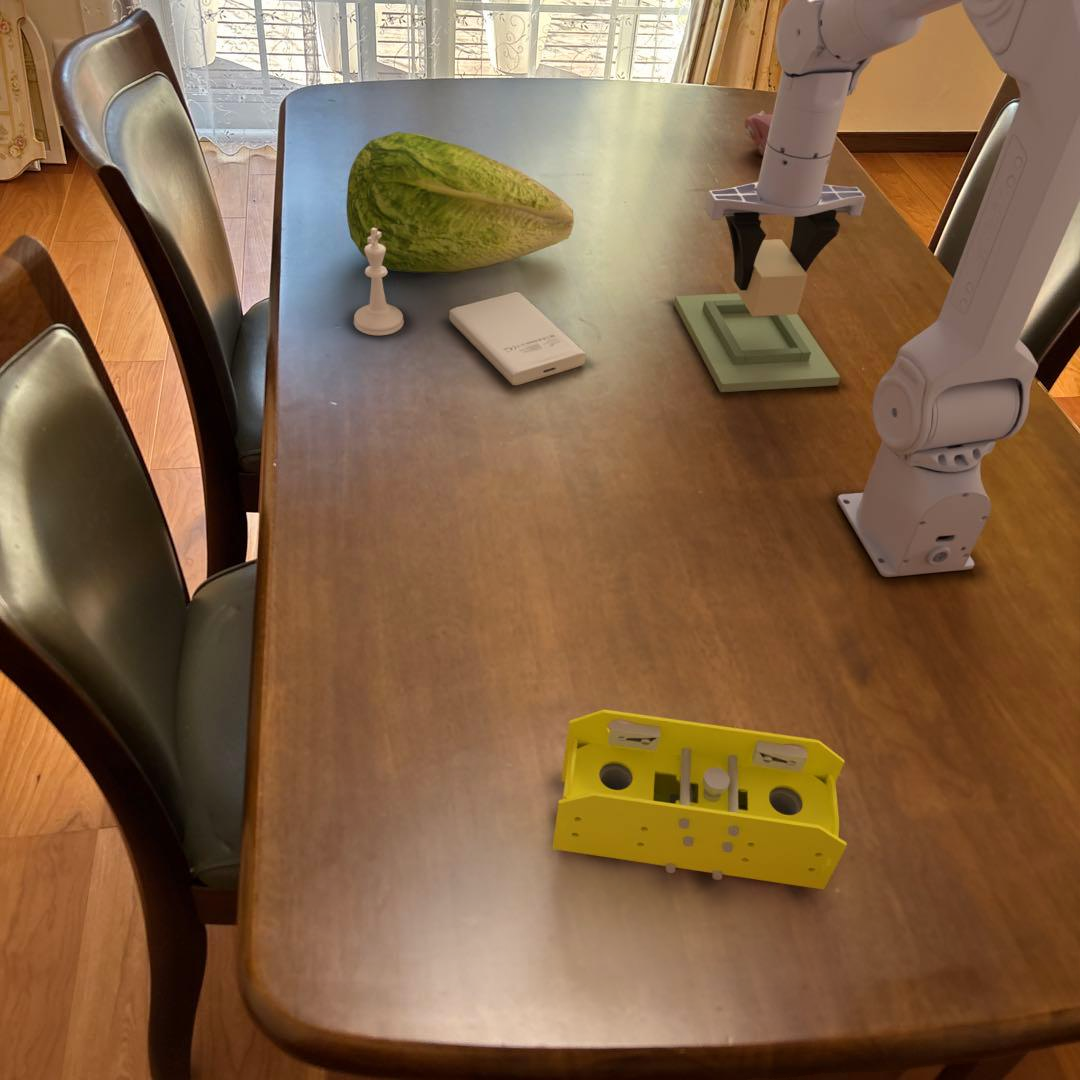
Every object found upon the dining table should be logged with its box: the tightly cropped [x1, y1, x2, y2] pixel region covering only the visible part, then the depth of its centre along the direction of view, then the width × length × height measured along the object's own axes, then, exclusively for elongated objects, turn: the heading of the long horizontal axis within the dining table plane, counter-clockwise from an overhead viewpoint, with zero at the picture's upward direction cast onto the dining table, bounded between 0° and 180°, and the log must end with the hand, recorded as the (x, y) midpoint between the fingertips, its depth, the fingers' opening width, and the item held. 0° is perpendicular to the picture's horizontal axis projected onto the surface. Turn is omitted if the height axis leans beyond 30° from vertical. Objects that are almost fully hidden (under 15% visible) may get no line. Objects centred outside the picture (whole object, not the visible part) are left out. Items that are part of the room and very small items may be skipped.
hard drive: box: [448, 291, 586, 386], centre depth 100 cm, size 2×8×12 cm
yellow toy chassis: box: [551, 708, 848, 890], centre depth 59 cm, size 16×6×8 cm, turn 83°
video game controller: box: [744, 110, 773, 157], centre depth 135 cm, size 10×5×7 cm, turn 25°
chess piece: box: [353, 227, 405, 336], centre depth 99 cm, size 5×5×10 cm
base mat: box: [673, 292, 841, 393], centre depth 103 cm, size 16×12×2 cm
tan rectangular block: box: [728, 238, 808, 316], centre depth 98 cm, size 7×5×4 cm, turn 11°
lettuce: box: [346, 131, 575, 275], centre depth 108 cm, size 15×24×14 cm, turn 99°
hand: (766, 284), depth 99 cm, fingers closed on tan rectangular block, 4 cm apart
